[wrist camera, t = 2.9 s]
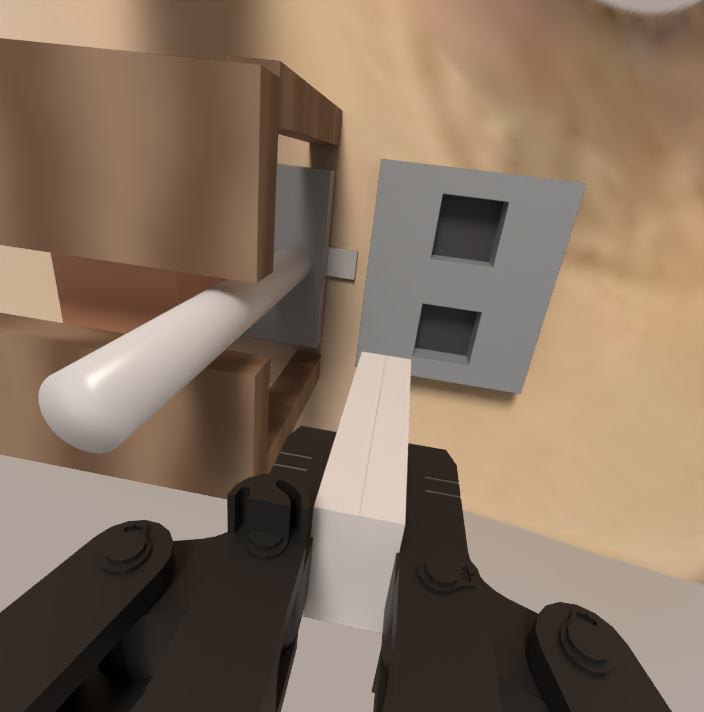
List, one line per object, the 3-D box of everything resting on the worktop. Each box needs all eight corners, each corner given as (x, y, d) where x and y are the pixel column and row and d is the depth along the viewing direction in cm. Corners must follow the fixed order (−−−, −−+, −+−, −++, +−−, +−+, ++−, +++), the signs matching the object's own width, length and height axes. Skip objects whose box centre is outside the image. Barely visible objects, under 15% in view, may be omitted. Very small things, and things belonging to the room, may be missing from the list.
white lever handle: (335, 170, 28) (132, 165, 8) (320, 340, 32) (172, 590, 13) (105, 142, 29) (-532, 81, 10) (124, 309, 34) (-272, 492, 14)
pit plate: (574, 182, 26) (586, 183, 25) (514, 381, 32) (520, 393, 30) (383, 159, 27) (381, 158, 26) (358, 356, 33) (355, 366, 31)
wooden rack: (373, 114, 27) (324, 51, 13) (342, 382, 34) (291, 519, 21) (-134, 58, 30) (-603, -39, 16) (-58, 314, 38) (-330, 395, 24)
